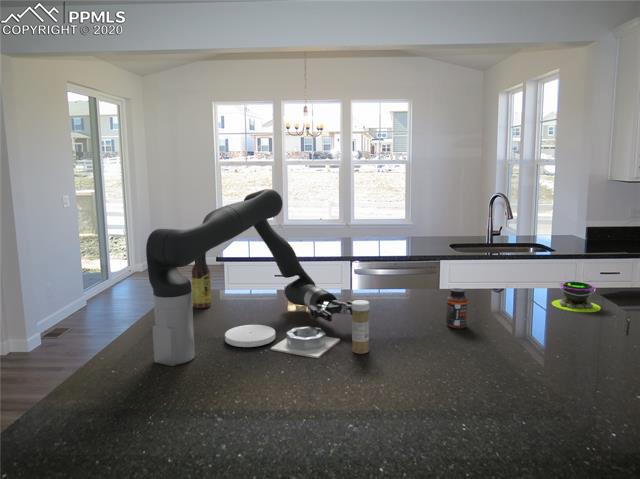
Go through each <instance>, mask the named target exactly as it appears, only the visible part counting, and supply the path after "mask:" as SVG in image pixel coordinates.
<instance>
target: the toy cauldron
mask: <svg viewBox="0 0 640 479" xmlns="http://www.w3.org/2000/svg"><path fill="white" fill-rule="evenodd" d="M577 274H580V273H577ZM584 276H585V274H583V273H582V277H584ZM564 278H565V280H567V281H565V282H560V283H558V285H559V288H560V290H561V291H562V295H563V298H561V299H556V300H553V301H551V305H552V306H554V307H555V308H558V309H560V310H565V311H569V312H575V313H595V312H600V310H601V309H602V308H601V306H599V305H598V304H596V303H593V302H591V301H590V297H591V296H592V294H594V293H595V292H596V286H595V285H592V284H589V282H591V280H588V278H586V277H585V279H586V280H588V283H585V282H583V280H580V281H575V280H573V281H568V279H567V278H568V276H566V277H564Z"/></svg>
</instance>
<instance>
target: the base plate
mask: <svg viewBox="0 0 640 479" xmlns="http://www.w3.org/2000/svg"><path fill="white" fill-rule="evenodd" d="M340 341H341V338H337V337H331V336H330V337H329V336H326V344H324V345H323V346H322V347H321V348H319V349H313V350H306V351H303V350H298V349H292V348H290V347H289V345H288V344H287V337H285V338H284V339H283V340H281V341H279V342H278V343H276V344H275V345H273V346H272V347H270V350H271V351H275V352H280V353H285V354H286V353H287V354H292V355H297V356H303V357H307V358H314V359H320V358H321V357H322V356H323V355H325V353H327V352H328V351H329V350H331V348H333V347H334V346H335V345H337V344H338V343H339V342H340Z"/></svg>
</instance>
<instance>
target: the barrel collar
mask: <svg viewBox="0 0 640 479" xmlns="http://www.w3.org/2000/svg"><path fill="white" fill-rule="evenodd" d="M326 334H327V333H326V331H324V330H323V329H322V328H321V327H313V326H309V325H308V326H300V327H293V328H292V329H290V330H288V331H287V332H286V338H287V344H288V345H289V347H290V348H292V349H298V350H303V351H306V350H313V349H319V348H321V347H322V346H323V345H324V344H326V337H327V336H326Z"/></svg>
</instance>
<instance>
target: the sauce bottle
mask: <svg viewBox="0 0 640 479" xmlns="http://www.w3.org/2000/svg"><path fill="white" fill-rule="evenodd" d="M206 254H207V252H206V253H204V254H203V255H202V256H200V257H199V258H198V259H196V260H195V261H194V264H193V266H192V269H191V288H192V307H193V308H195V309H205V308H209V307H211V304H212V289H211V271H210V268H209V267H208V264H207V258H206V257H207V256H206Z"/></svg>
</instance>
